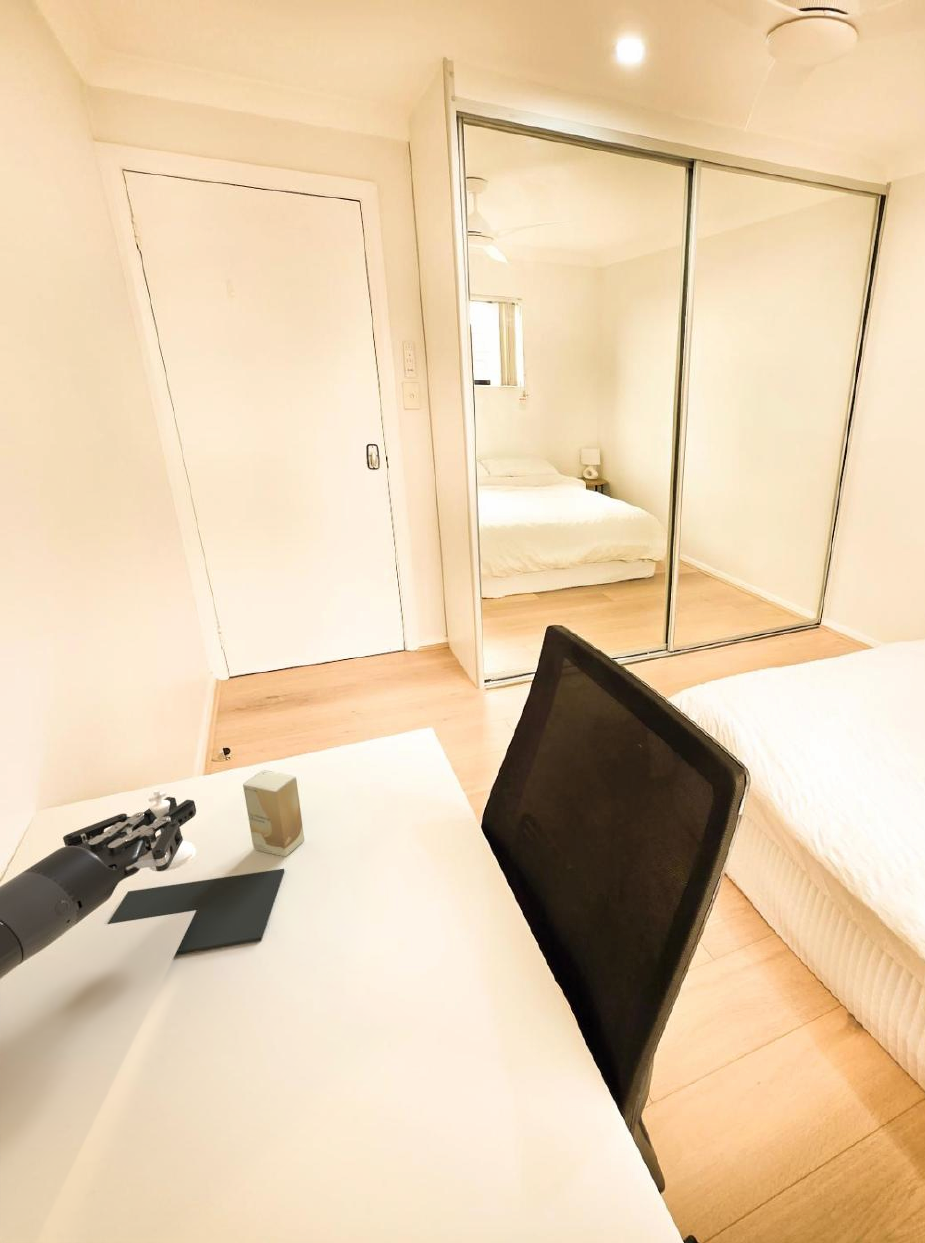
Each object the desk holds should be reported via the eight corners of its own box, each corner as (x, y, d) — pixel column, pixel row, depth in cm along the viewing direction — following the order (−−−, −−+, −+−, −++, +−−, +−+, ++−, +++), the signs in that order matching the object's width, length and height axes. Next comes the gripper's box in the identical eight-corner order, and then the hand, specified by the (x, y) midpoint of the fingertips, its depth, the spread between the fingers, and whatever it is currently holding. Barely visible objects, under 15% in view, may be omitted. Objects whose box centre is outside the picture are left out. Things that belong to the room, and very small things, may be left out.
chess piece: (203, 854, 78) (188, 787, 75) (160, 877, 74) (142, 807, 71) (184, 840, 81) (168, 775, 78) (141, 862, 77) (122, 794, 74)
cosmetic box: (252, 850, 96) (239, 783, 92) (273, 832, 100) (261, 768, 96) (287, 858, 95) (275, 791, 91) (307, 840, 99) (296, 775, 95)
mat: (79, 972, 75) (78, 968, 75) (129, 894, 87) (128, 891, 86) (261, 940, 80) (260, 937, 80) (284, 871, 92) (284, 868, 92)
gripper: (-5, 922, 65) (143, 821, 81) (108, 943, 62) (236, 835, 79) (-26, 864, 62) (130, 772, 78) (90, 884, 60) (226, 785, 76)
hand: (183, 804), depth 78 cm, fingers closed on chess piece
